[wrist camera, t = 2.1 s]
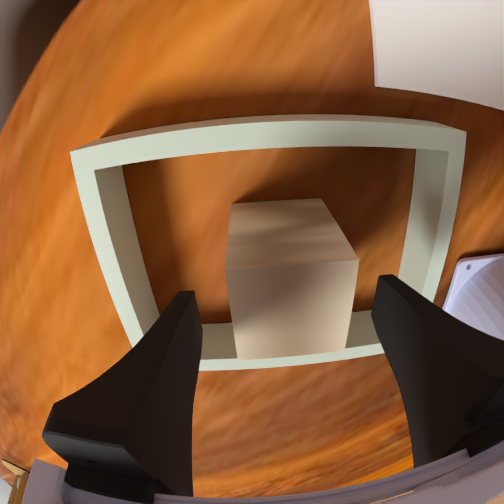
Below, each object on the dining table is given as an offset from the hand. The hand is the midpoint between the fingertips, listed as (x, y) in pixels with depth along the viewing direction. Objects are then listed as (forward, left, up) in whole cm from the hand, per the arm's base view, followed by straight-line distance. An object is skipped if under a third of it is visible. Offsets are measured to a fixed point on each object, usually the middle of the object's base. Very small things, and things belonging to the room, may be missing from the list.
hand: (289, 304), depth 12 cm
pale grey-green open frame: (0, 0, -5) cm, 5 cm away
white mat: (-11, -13, -5) cm, 18 cm away
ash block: (0, 0, -5) cm, 5 cm away
